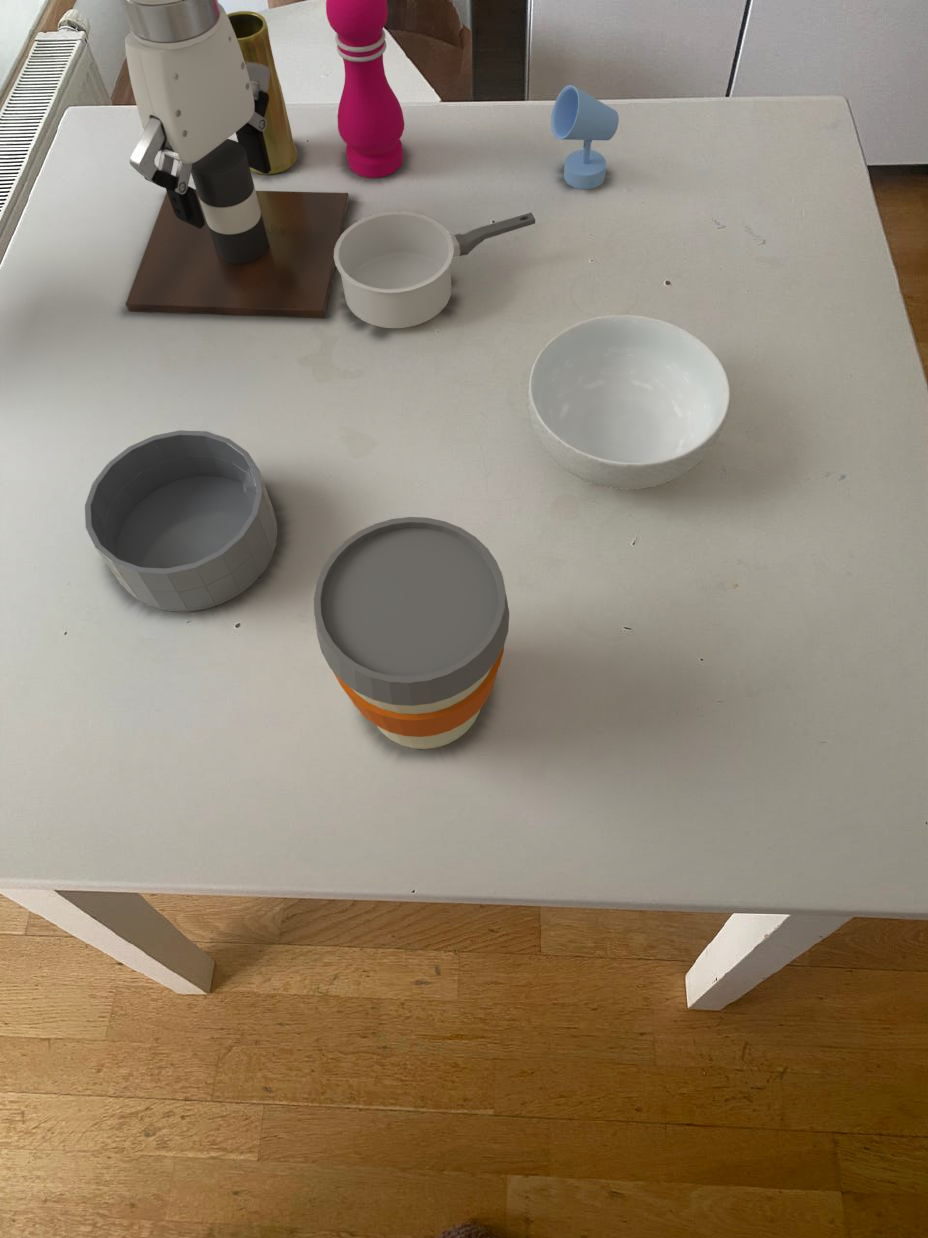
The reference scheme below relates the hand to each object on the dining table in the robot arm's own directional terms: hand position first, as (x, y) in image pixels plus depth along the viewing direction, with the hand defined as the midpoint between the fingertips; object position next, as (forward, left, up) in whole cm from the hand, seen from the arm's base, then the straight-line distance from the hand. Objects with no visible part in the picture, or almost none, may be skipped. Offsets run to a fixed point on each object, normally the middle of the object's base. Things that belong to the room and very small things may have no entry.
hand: (225, 194), depth 88 cm
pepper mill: (+12, +16, -7) cm, 21 cm away
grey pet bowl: (+3, -36, -7) cm, 37 cm away
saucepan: (+21, -4, -7) cm, 23 cm away
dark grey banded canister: (0, 0, -6) cm, 6 cm away
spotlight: (+35, +14, -7) cm, 38 cm away
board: (0, 0, -7) cm, 7 cm away
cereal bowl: (+39, -23, -7) cm, 46 cm away
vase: (0, +16, -7) cm, 17 cm away
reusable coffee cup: (+24, -49, -7) cm, 55 cm away
